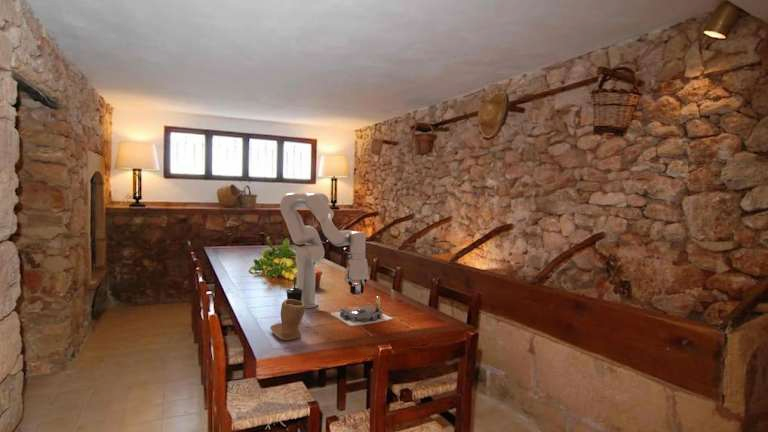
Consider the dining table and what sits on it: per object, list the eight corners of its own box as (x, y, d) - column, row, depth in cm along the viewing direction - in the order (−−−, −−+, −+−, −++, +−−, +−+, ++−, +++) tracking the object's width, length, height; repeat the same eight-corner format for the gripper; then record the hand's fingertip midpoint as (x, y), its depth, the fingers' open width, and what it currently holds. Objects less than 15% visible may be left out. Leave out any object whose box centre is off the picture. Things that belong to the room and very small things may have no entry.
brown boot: (308, 339, 172) (309, 303, 171) (279, 343, 166) (280, 306, 166) (296, 328, 185) (297, 294, 185) (269, 331, 180) (270, 297, 179)
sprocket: (386, 321, 197) (386, 302, 197) (342, 322, 193) (342, 302, 193) (378, 308, 217) (379, 291, 217) (338, 309, 213) (338, 292, 213)
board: (350, 326, 190) (350, 325, 190) (330, 314, 208) (330, 313, 208) (392, 319, 203) (393, 318, 203) (370, 308, 220) (370, 307, 220)
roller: (355, 294, 206) (355, 284, 206) (351, 293, 210) (351, 283, 209) (362, 294, 208) (362, 284, 208) (358, 292, 212) (358, 282, 212)
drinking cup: (287, 322, 193) (288, 279, 192) (283, 317, 200) (284, 275, 199) (304, 320, 196) (305, 278, 195) (299, 316, 203) (300, 274, 202)
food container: (294, 285, 267) (294, 268, 266) (319, 284, 272) (320, 268, 271) (296, 291, 252) (297, 273, 251) (323, 290, 257) (324, 273, 256)
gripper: (346, 258, 200) (345, 296, 201) (376, 256, 210) (375, 293, 210) (338, 256, 207) (338, 293, 208) (368, 254, 216) (367, 290, 217)
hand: (356, 292), depth 209 cm, fingers closed on roller, 4 cm apart
